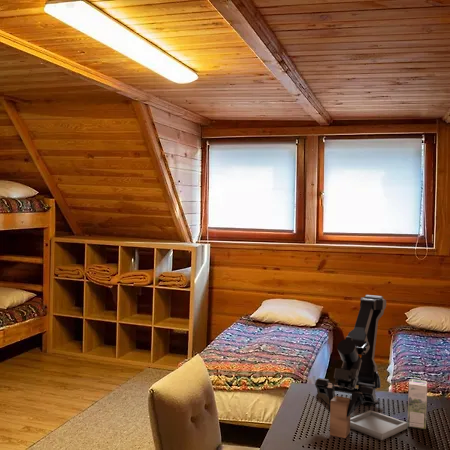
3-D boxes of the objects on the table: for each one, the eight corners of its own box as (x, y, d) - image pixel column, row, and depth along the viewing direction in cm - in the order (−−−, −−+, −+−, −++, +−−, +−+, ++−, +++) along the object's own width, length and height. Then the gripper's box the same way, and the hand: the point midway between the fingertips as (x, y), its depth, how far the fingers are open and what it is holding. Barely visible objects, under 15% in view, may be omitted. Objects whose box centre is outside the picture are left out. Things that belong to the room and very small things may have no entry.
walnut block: (334, 429, 184) (335, 395, 183) (350, 432, 182) (350, 398, 181) (329, 434, 180) (330, 400, 179) (345, 438, 177) (346, 403, 177)
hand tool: (343, 412, 199) (343, 399, 199) (332, 412, 198) (332, 399, 198) (324, 393, 218) (325, 381, 218) (314, 394, 217) (315, 382, 217)
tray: (370, 415, 196) (370, 410, 195) (407, 428, 185) (407, 422, 185) (345, 426, 186) (345, 420, 186) (382, 440, 176) (382, 434, 176)
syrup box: (425, 423, 190) (427, 380, 189) (425, 429, 184) (427, 385, 184) (407, 420, 192) (408, 378, 191) (407, 427, 186) (408, 383, 185)
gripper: (317, 353, 187) (304, 396, 178) (374, 362, 178) (364, 408, 169) (324, 370, 195) (313, 413, 185) (380, 379, 186) (370, 425, 176)
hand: (339, 414), depth 179 cm, fingers closed on walnut block, 5 cm apart
